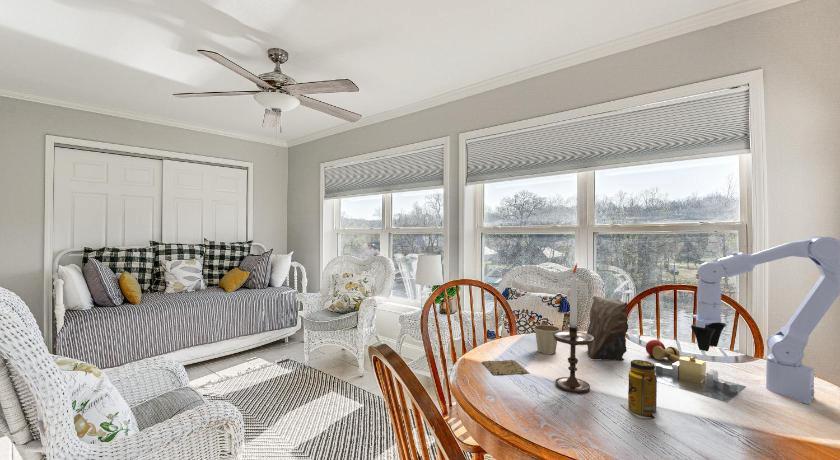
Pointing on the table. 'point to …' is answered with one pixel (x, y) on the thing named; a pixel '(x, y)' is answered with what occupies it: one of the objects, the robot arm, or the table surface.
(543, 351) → the flower pot
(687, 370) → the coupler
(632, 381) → the condiment
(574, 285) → the candlestick
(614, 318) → the brown rock block
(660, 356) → the kendama
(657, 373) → the shaft base
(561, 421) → the table surface
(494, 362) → the brown stone coaster
